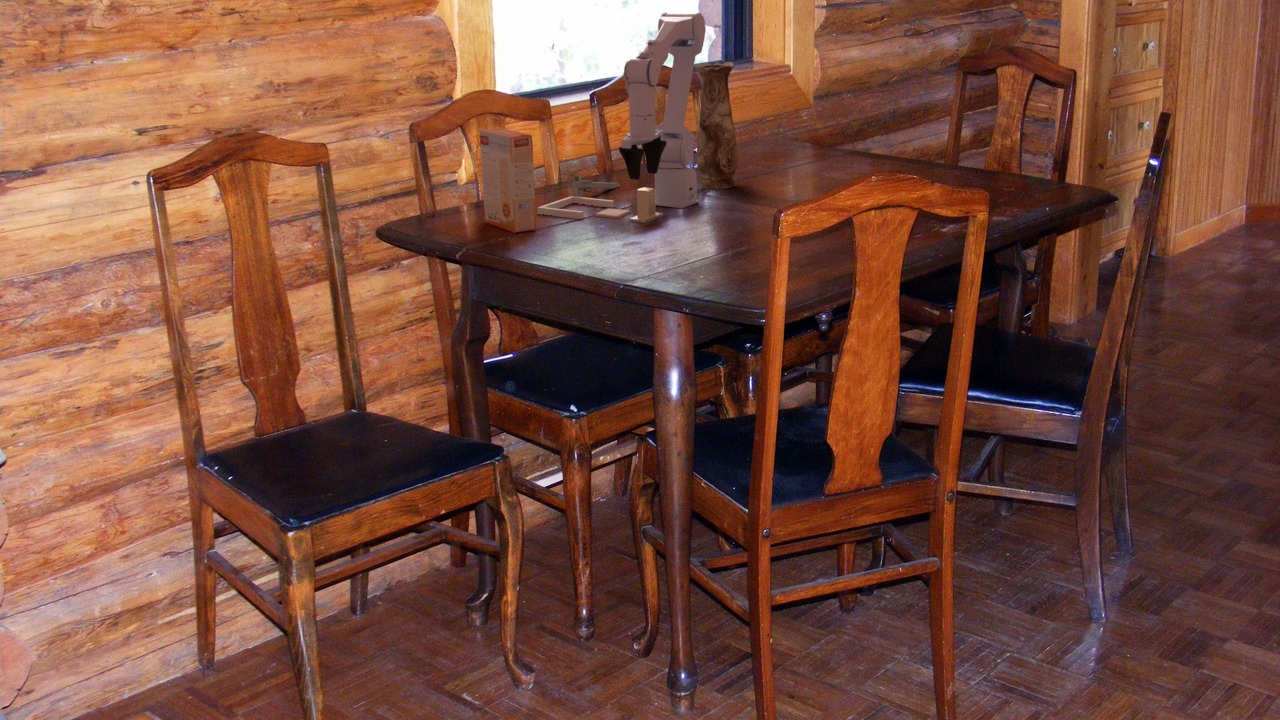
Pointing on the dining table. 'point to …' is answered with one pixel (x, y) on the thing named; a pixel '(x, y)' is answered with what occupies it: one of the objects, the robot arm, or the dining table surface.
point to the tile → (612, 213)
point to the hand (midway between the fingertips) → (643, 176)
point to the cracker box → (508, 179)
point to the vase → (716, 128)
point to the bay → (553, 207)
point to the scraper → (646, 206)
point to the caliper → (589, 186)
